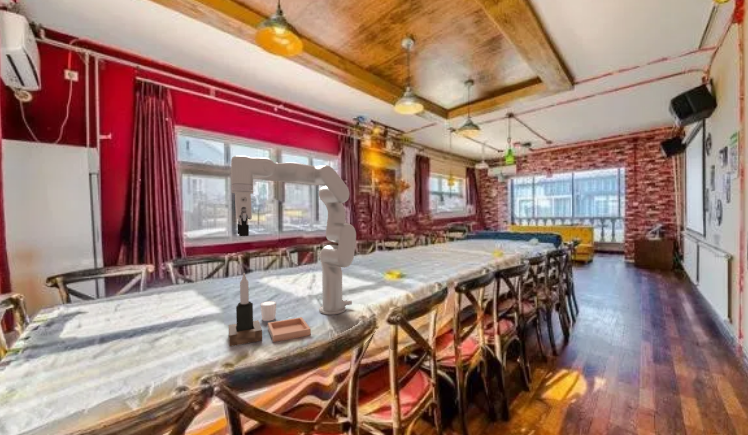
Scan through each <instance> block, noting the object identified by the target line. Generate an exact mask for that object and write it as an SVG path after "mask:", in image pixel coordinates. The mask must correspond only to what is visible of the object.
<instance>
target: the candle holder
mask: <svg viewBox="0 0 748 435" xmlns="http://www.w3.org/2000/svg"><path fill="white" fill-rule="evenodd" d="M261 341H262V342H263V329H262V326H261V324H260V320H259V319H258V320H253V329H251V330H245V331H239V332H237V323H233V324H228V342H229V347H235V345H236V346H240V345H247V344H251V343H257V342H261Z"/></svg>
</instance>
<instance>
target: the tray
mask: <svg viewBox="0 0 748 435" xmlns="http://www.w3.org/2000/svg"><path fill="white" fill-rule="evenodd" d="M267 330H268V333H269V335H270V338H271V340H272V343H277V342H282V341H287V340H293V339H297V338H303V337H307V336H311V333H312V332H311V327H310V326H309V324H308V323H307V322H306V321H305V319H304V318H303V317H301V316H300V317H296V318H295V317H294V318H289V319H282V320H277V321H271V322H270V321H269V322H267Z"/></svg>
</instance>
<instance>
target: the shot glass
mask: <svg viewBox="0 0 748 435" xmlns="http://www.w3.org/2000/svg"><path fill="white" fill-rule="evenodd" d="M276 311H277V301H274V300H268V301H263V302H261V303H260V313H261V320H262V321H264V322H270V321H273V320H275V319H276V314H277V312H276Z"/></svg>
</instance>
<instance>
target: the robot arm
mask: <svg viewBox="0 0 748 435" xmlns="http://www.w3.org/2000/svg"><path fill="white" fill-rule="evenodd" d="M230 163H231V164H230V165H231V166H230V167H231V168H230V169H231V173H230V174H231V178H230V179H231V194H234V197H235V198H234V201H235V208H234V209H235V216H236V218H235V219H237V223H236V224H237V235H239V237H249V235H250V232H249V230H250V227H249V226H250V225H249V220H252V215H253V214H252V194H254V179H255V180H263V181H264V180H265V181H273V182H284V183H292V184H293V183H294V184H303V185H304V184H305V185H309V186H310V185H312V186H322V187H320V188H319V190H318V191H319V192H318V196H319V198H320V200H321V201H322V203H323V205H325V207H326V209H327V219H326V227H325V237H326V239H327V241H328V242H331V243H337V244H338V245H336V244H327V245H324V247H323V248H322V249H320V254H319V255H320V257H319V258H320V263H321V273H322V274H321V275H322V284H321V286H322V287H321V288H322V290H321V292H322V293H321V295H322V296H321V297H322V301H321V302H322V303H321V304H322V306H320V307H319V308H318V311H319V313H321V314H323V315H331V316H332V315H334V316H335V315H340V314H343V313H344V312H345V311H346V310H347V309H346V306H351V305H352V304H353V302H352V300H348V299H345V300H344V299H343V270H342V268H348V267H350V266H351V265H352V263H353V261H354V258H355V249H356V243H357V241H356V240H357V232H356V228H355V227H354V226H353V225H352V224H350V223H346V208H345V207H344V203H347V201H348V200H349V198H350V190H349V188H348V186H347V184H346V183H345V182H344V180H343V179H342V178H341V176H340V175H339V174H338V172H337V171H336V170H335V169H334V168H333V167H332V166H331V165H328V164H324V165H310V164H305V163H299V162H280V163H278V162H274V160H272V159H271V158H269V157H250V156H247V155H234V156H233V157H232V158H231V161H230ZM323 185H324V186H323Z"/></svg>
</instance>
